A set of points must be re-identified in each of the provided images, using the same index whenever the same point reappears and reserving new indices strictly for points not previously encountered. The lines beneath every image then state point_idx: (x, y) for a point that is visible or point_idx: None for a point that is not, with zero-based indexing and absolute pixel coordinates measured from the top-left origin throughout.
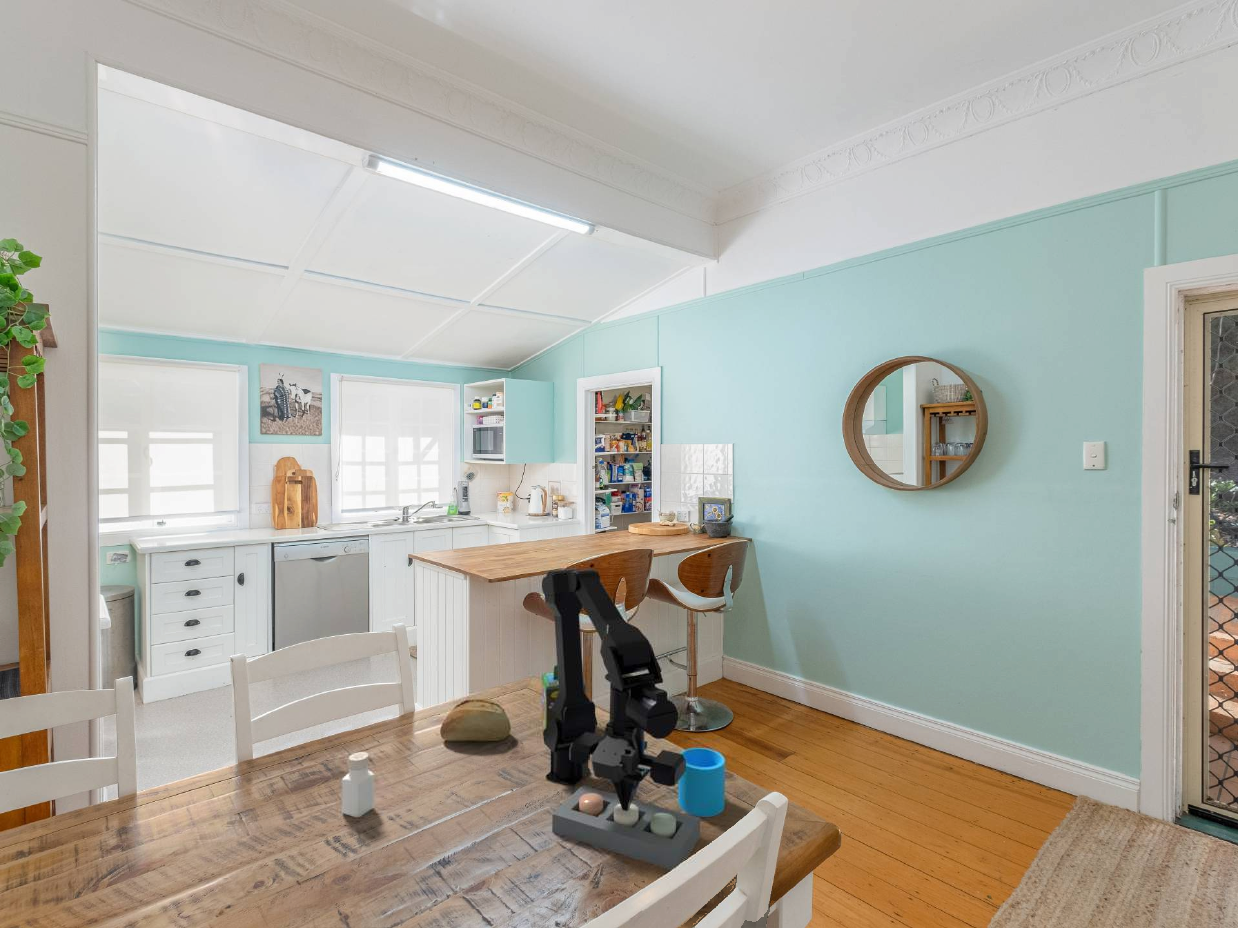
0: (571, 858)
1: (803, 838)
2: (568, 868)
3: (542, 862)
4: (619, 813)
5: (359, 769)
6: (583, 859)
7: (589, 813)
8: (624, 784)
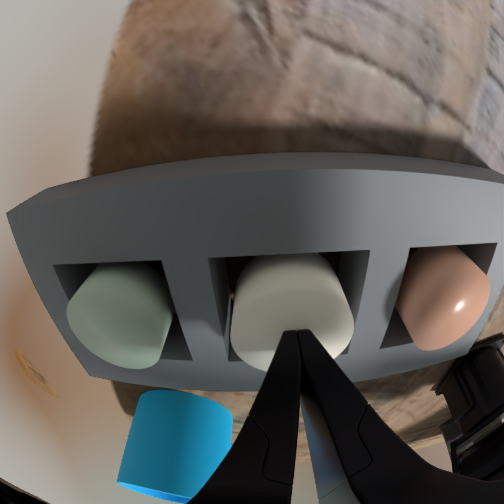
0: (396, 53)
1: (30, 369)
2: (372, 3)
3: (450, 20)
4: (311, 300)
5: None
6: (357, 60)
7: (442, 258)
8: (322, 453)
